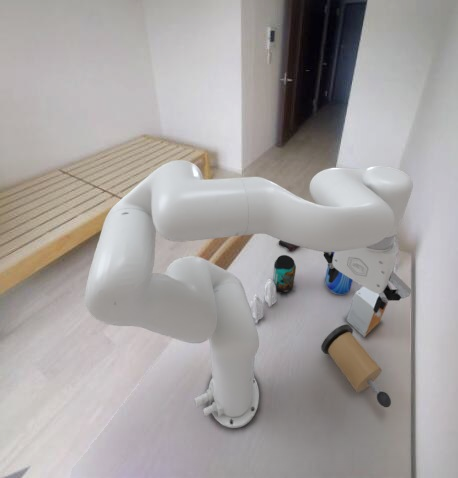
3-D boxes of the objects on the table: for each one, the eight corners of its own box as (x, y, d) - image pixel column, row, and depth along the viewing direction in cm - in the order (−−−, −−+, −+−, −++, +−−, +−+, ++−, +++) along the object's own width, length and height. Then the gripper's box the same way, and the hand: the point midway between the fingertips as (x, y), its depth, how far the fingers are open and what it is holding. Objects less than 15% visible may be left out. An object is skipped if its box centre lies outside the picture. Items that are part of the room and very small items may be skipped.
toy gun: (309, 240, 113) (311, 231, 111) (291, 254, 107) (292, 245, 105) (291, 228, 120) (292, 220, 118) (273, 240, 114) (273, 232, 111)
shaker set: (270, 291, 92) (272, 269, 87) (280, 299, 90) (283, 276, 84) (246, 315, 85) (247, 291, 80) (256, 324, 82) (257, 301, 77)
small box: (364, 337, 78) (375, 309, 72) (345, 320, 83) (354, 292, 77) (380, 322, 82) (391, 294, 76) (361, 306, 87) (370, 279, 81)
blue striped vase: (321, 275, 98) (328, 243, 90) (344, 276, 97) (353, 243, 90) (328, 296, 90) (336, 262, 83) (353, 297, 90) (364, 263, 82)
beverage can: (291, 297, 90) (295, 272, 84) (270, 291, 92) (273, 267, 87) (294, 280, 96) (297, 256, 90) (274, 275, 98) (276, 251, 92)
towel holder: (368, 428, 61) (379, 407, 56) (318, 356, 74) (324, 334, 69) (398, 404, 64) (411, 383, 60) (345, 340, 78) (352, 318, 73)
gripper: (318, 219, 53) (309, 278, 61) (419, 270, 42) (391, 334, 50) (337, 202, 57) (326, 260, 65) (433, 245, 46) (405, 308, 54)
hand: (354, 292), depth 57 cm, fingers open, 9 cm apart
